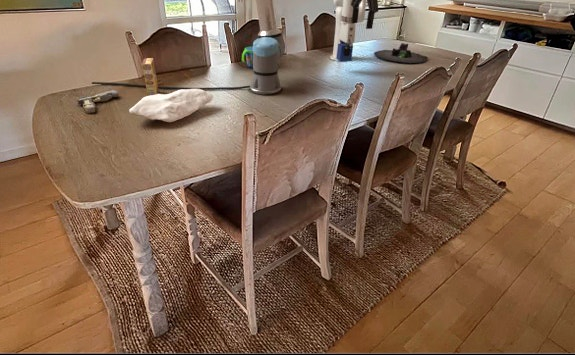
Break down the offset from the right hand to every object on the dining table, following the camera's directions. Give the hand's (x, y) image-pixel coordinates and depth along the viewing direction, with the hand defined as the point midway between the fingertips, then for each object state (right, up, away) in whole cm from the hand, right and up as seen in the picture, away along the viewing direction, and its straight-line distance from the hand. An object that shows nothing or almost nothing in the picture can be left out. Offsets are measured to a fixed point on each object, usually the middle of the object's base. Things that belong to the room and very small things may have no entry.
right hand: (344, 54), depth 203 cm
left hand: (+2, +1, -36) cm, 36 cm away
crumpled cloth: (-79, -43, -54) cm, 105 cm away
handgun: (-112, -38, -48) cm, 127 cm away
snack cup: (-51, -5, +7) cm, 52 cm away
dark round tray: (+43, +11, +39) cm, 59 cm away
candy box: (-94, -31, -37) cm, 105 cm away
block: (0, -3, +2) cm, 3 cm away
